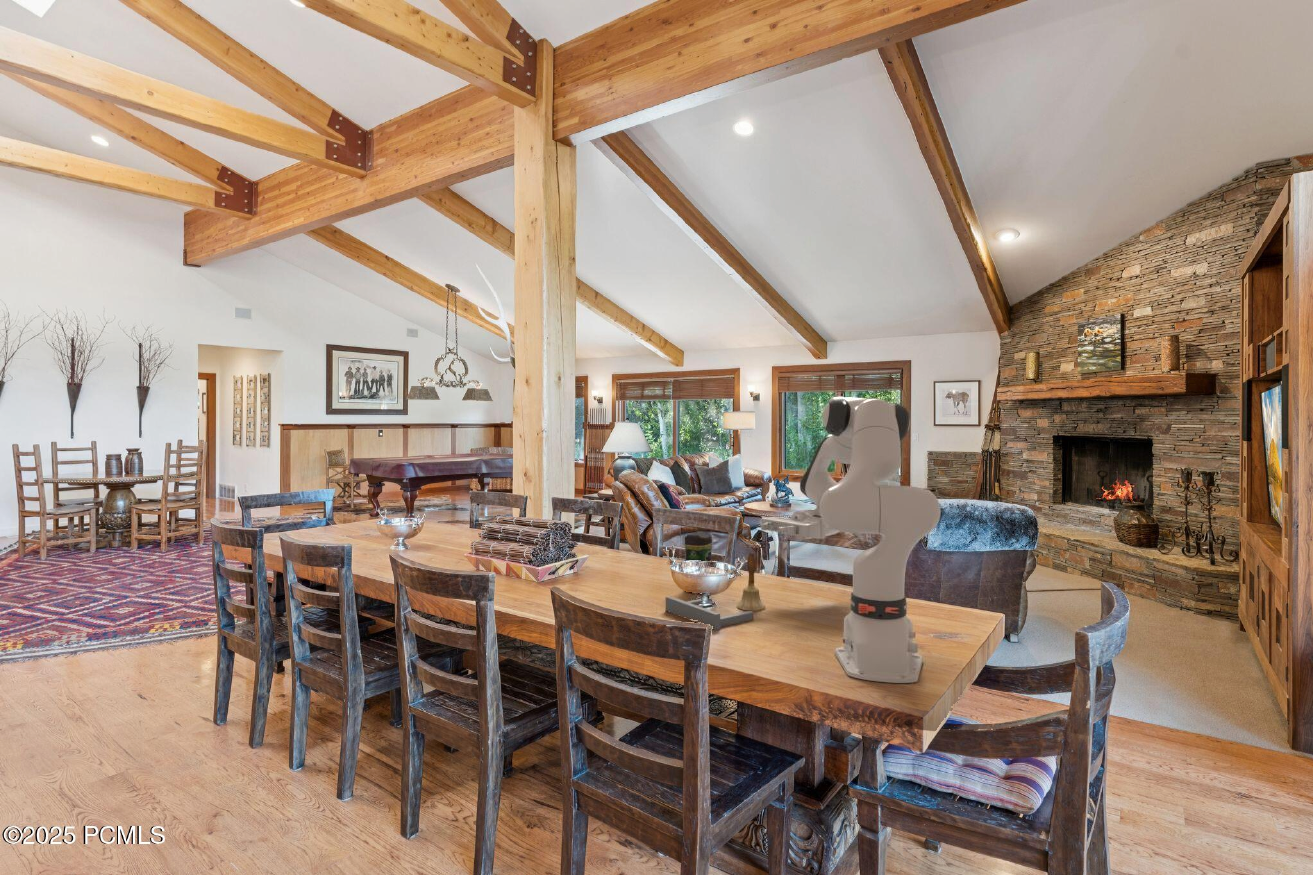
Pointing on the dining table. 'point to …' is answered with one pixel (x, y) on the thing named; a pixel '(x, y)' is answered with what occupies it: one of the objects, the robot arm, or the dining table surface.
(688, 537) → the coffee jar
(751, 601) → the hand bell
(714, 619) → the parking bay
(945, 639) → the dining table surface
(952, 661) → the dining table surface
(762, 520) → the robot arm
